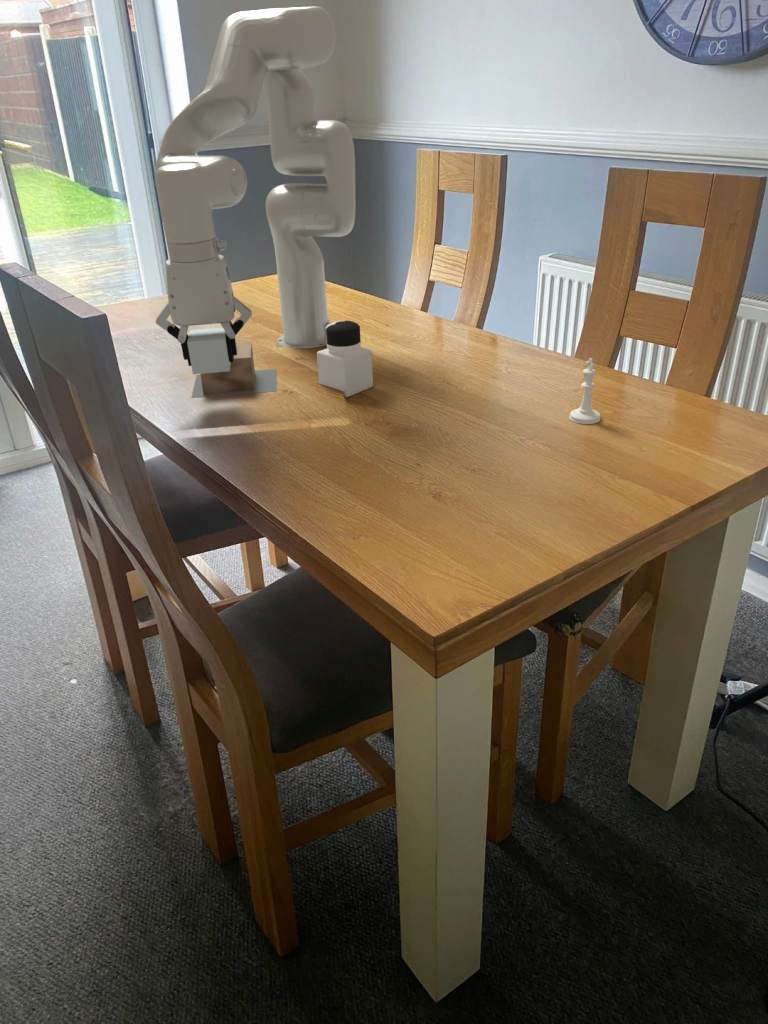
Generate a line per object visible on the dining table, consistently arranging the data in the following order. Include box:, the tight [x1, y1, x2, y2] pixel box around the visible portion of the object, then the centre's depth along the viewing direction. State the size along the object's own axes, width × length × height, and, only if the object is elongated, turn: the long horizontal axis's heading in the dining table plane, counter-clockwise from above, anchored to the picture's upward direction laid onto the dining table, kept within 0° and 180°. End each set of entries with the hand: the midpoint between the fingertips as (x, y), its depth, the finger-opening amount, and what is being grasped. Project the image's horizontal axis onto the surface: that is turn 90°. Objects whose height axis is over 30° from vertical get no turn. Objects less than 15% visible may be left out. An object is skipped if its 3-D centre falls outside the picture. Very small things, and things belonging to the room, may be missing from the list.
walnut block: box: [199, 341, 255, 394], centre depth 143 cm, size 9×9×6 cm
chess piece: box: [568, 357, 601, 425], centre depth 125 cm, size 5×5×10 cm
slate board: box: [190, 368, 278, 399], centre depth 145 cm, size 15×12×1 cm
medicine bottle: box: [316, 320, 374, 398], centre depth 140 cm, size 7×7×12 cm
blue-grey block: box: [187, 327, 231, 375], centre depth 130 cm, size 6×6×6 cm
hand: (211, 360), depth 131 cm, fingers closed on blue-grey block, 6 cm apart
